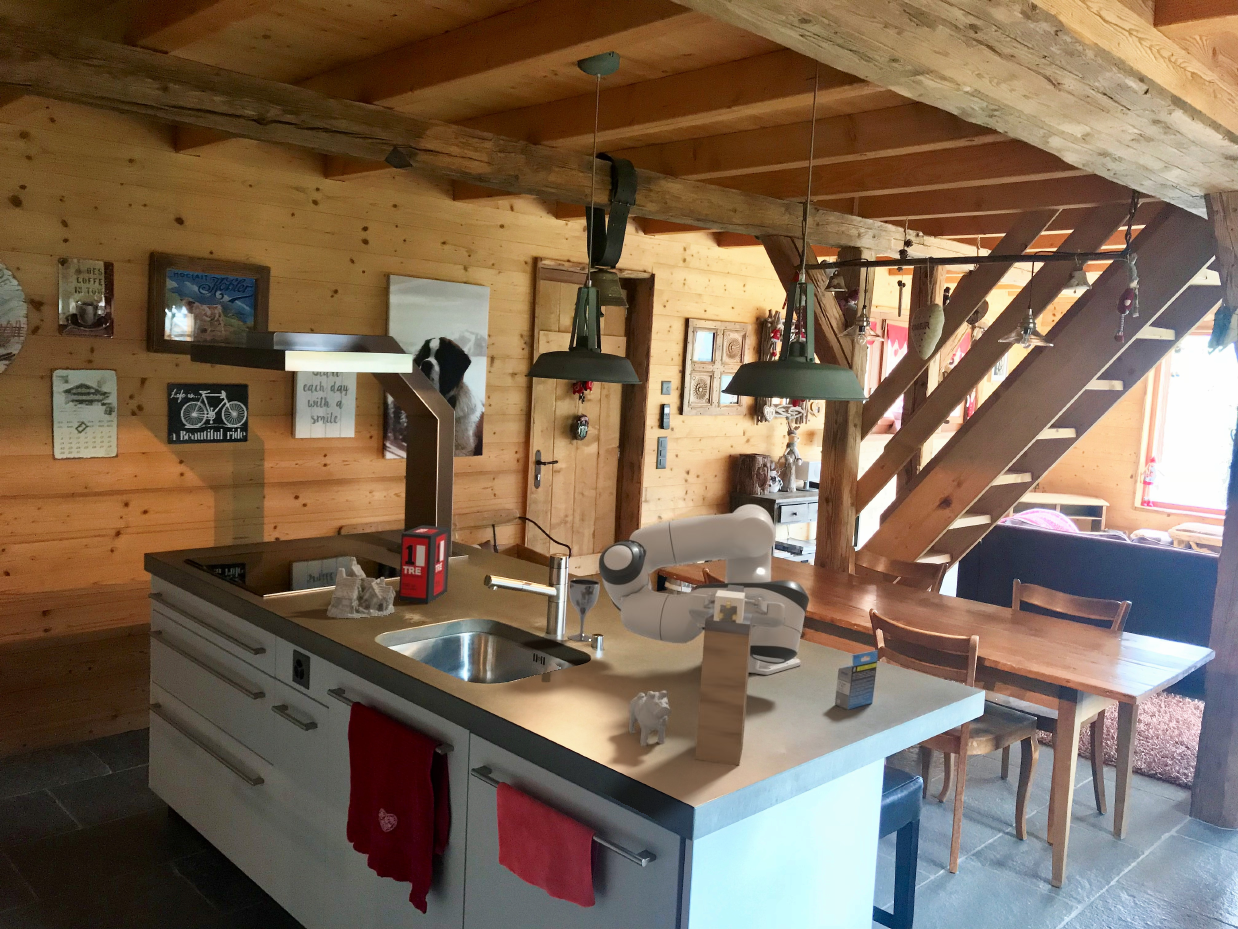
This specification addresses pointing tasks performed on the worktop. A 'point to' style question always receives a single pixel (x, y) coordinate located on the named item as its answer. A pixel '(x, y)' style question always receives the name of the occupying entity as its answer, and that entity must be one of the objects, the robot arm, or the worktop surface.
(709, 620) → the stand
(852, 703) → the label tape box
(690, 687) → the worktop surface
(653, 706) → the grey animal figure
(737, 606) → the plug
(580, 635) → the wine glass
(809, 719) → the worktop surface
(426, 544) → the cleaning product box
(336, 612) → the ceramic cottage
